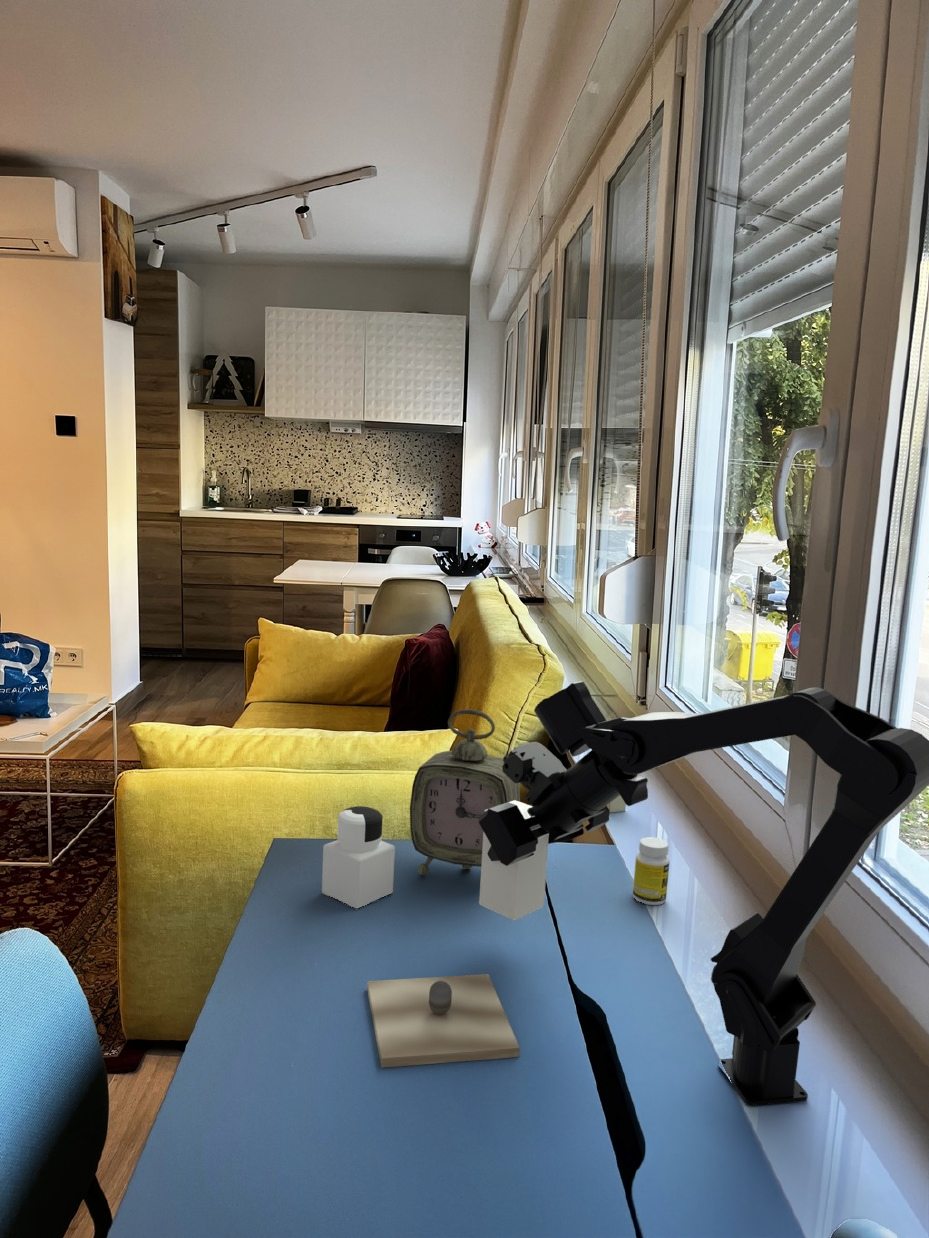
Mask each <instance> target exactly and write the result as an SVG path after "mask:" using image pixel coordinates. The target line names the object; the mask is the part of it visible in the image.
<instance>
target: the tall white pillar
mask: <svg viewBox="0 0 929 1238" xmlns="http://www.w3.org/2000/svg"><path fill="white" fill-rule="evenodd" d="M509 803H512V804H515V805H517V806H518V808H519V810H520V812H521V813H522V815H523V817H524V819H528V818H530V817H531V816H530V815H529V814H528V812H527V810H528V809H529V808H531V807H534V806H533V805H531V804H527V803H524V802H521V801H520V802H519V801H516V800H514V801H511V802H509ZM487 810H488V809H487ZM487 810H485V811H487ZM532 817H533V816H532ZM540 827H541V826H540ZM540 827H537V828H535V829H538V828H540ZM532 830H534V829H532ZM532 830H531V831H532ZM548 839H549V834H547V835H545V836H542V837H539V838H538V844H537V845H536V851H535V852H533V853H534V855H532V856H530V857H528V858H525V859H523V860H520V861H518V862H515V863H513V864H510V865H508V866H506V865H504V864H502V863H501V862H500V861H491V860H490V858H489V856H488V854H487V853H488V851H489V849H490V847H491V844H490V842H489V840H488V838H487V837H486V835H485V833H484V831H483V848H482V865H481V867H480V885H479V898H478V899H479V904H478V905H480V906H482V907H484V908H486V909H489V910H490V911H492V912H495V913H497V914H499V915H501V916H503V917H504V918H508V920H509V919H510V920H512V921H514V922H516V921H517V920H519V919H521V918H523V917H525V916H528V915H529V914H531V913H533V912H535V911H537V910H539V909H542V908H544V906H545V895H546V894H545V893H546V881H547V880H546V877H547V868H548V867H547V865H548V851H549V844H548Z"/></svg>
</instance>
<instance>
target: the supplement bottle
mask: <svg viewBox="0 0 929 1238" xmlns="http://www.w3.org/2000/svg"><path fill="white" fill-rule="evenodd" d="M668 854H669V843H668V842H667V841H666V840H665V839H663V838H662V839H661V838H659V837H652V836H649V837H643V838H641V839H640V840H639V847H638V852H637V853H636V855H635V862H634V863H635V864H634V872H633V873H634V875H633V886H632V897H633V899H634V898H635V899H636V900H635V899H634V900H635V901H637V902H638V901H639V902H638V903H640V902H642V903H641V904H643V903H644V904H643V905H648V906H659V905H662V904H664V903H665V902H666V899H667V893H668V892H667V890H668V882H669V871H670V862H671V861H670V858H669V856H668Z"/></svg>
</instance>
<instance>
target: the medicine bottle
mask: <svg viewBox="0 0 929 1238" xmlns="http://www.w3.org/2000/svg"><path fill="white" fill-rule="evenodd" d="M383 818H384V817H383V814H382V813H381V812H380V811H379V810H378V809H375V808H373V807H368V806H363V805H361V806H359V805H358V806H350V807H348V808H346V809H343V810H341V811H340V813H338V815H337V836H336V837H337V838H336V839H337V840H334V841H331V842H328V843H325V844H324V845H323V846H322V848H323V851H322V878H321V893H322V894H323V895H325V896H327V897H329V896H330V897H329V898H331V897H333V898H335V899H338V900H339V901H342V902H343V903H342V902H341V903H342V904H344V903H346V904H348V905H349V906H348V905H347V906H348V907H350V906H351V908H352V907H355V908H359V907H362V906H364V907H366V906H368V905H367V904H369V903H370V902H372V901H374V900H376V899H379V898H380V897H384V896H386V895H388V894H391V893H392V892H393V893H394V878H395V877H394V873H395V856H396V855H395V852H396V847H395V845H394V844H391V843H389V842H385V841H384V840H382V838H383ZM393 893H392V894H393ZM392 894H391V895H392ZM386 897H387V896H386ZM333 898H332V899H333ZM384 898H385V897H384ZM335 899H334V900H335ZM339 901H338V902H339ZM346 904H345V905H346ZM365 905H366V906H365ZM369 905H370V904H369ZM362 908H363V907H362Z"/></svg>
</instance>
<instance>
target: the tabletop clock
mask: <svg viewBox="0 0 929 1238" xmlns="http://www.w3.org/2000/svg"><path fill="white" fill-rule="evenodd" d="M460 715H472V716H473V715H474V716H478V717H482V718H483V719H485V720H487V722H488V723H489V724H490V725H491V730H490V731H489V732H487V733H483V734H476V733H475V731H476V730H475V729H474V728H472V727H471V728H468V729H467V731H466V732H463V731H461V730H458V729H456V728H455V727H453V725H452V720H453V719H454V718H456V717H457V716H460ZM447 725H448V728H449V729H450V730H451V732H452V733H453V734H455V735H456V736H459V737H461V738H464V739H462V740H460V741H459V742H457V743H456V744H455V745H454V747H453V748H452V750H445V751H441V752H438V753H435V754H434V755H432V756H431V757H430V758H429V759H427V760H426V761H425V762H424V763H423V764H421V766H419V767H418V769H417V771H416V774H415V776H414V779H413V782H412V787H411V788H412V789H411V795H410V802H409V827H410V836H411V841H412V844H413V847H414V851H416V852H418V853H420V854H421V855H423V856H425V857H427V859H426V860H425V863H421V864H419V865H418V866H417V873H418V875H420V874H421V875H420V876H426V875H427V874H428V873H429V869H430V868H429V865H430V864H431V862H432V861H433V860H437V861H441V862H444V863H445V862H446V863H449V864H453V865H460V866H462V868H463V870H466V869H469V870H471V869H472V867H478V868H479V867H480V868H481V865H482V848H483V829H482V828H481V826H480V824H479V817H480V816H481V815H482V814H483V813H484V812H485V810H487V809H489V808H492V807H495V806H498V805H501V804H504V803H507V802H511V801H514V800H516V801H519V802H521V787H520V786H521V785H520V784H521V783H514V782H513V781H512V780H511V779H510V778H509V777H508V776H507V775H506V774H504V772H503V769H502V766H503V764H504V761H503V758H502V757H497V756H493V755H488V752H487V749H486V747H485V746H484V745H483V743H482V742H481V741H478V740H483V739H487V738H489V737H491V736H492V735H493V734H494V732H495V730H496V725H495V723H494V721H493V719H492V718H491V717H490V716H489V715H488V714H486V713H485V712H482V711H480V710H476V709H469V708H467V709H465V708H464V709H460V710H456V711H454V712H453V713H452V714H451V715H449V718H448V720H447ZM425 874H426V875H425Z"/></svg>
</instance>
